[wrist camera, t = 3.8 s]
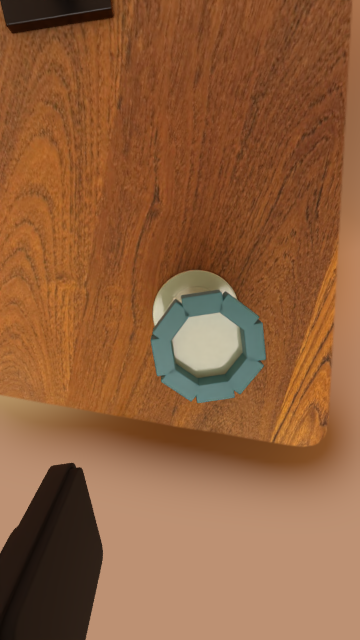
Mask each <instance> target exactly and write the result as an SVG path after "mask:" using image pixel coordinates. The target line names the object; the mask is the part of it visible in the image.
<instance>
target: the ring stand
mask: <svg viewBox="0 0 360 640" xmlns="http://www.w3.org/2000/svg"><path fill="white" fill-rule="evenodd" d="M212 290H220V291H221V292H222V294H223V293H224V292H225V291H226V292H227V293H229V294H230V295H231V296H233V297H234V298H235V299H237V296H236V294H235V292H234V290H233V289H232V287H231V286H230V285H229V284H228V283H227V282H226V281H225V280H224V279H223V278H221V277H220V276H218V275H216V274H214V273H212V272H209V271H206V270H197V269H194V270H187V271H183V272H180V273H178V274H176V275H174V276H172V277H171V278H170V279H168V280H167V281H166V282H165V283H164V284H163V285H162V287H161V288H160V290H159V291H158V293H157V295H156V298H155V301H154V305H153V322H154V326H155V325H156V324H157V323H158V321H159V320H160V319H161V317H162V316H163V315H164V313H165V312H166V310H167V309H168V308H169V306H170V305H171V304H172V302H173V301H174V300H175V299H177V300H178V301H179V302H181V303H182V301H181V295H186V294H193V293H199V292H205V291H212ZM237 300H238V299H237ZM172 346H173V352H174V358H175V363H176V364H178V365H179V366H181V367H182V368H183V369H185V370H186V371H188V372H189V373H191V374H192V375H194V376H195V377H197V378H202V377H208V376H215V375H222V374H226V372H227V371H228V370H229V369H230V367H231V366H232V365H233V364H234V363H235V361H236V360H237V359H238V358H239V356H240V355H241V354H242V353H243V351H242V342H241V333H240V327H239V326H237V325H236V324H235V323H233V322H232V321H230V320H229V319H228V318H226V317H225V316H224V315H222V314H221V313H220V312H219V313H213V314H206V315H200V316H193V317H189V318H188V319H187V320H186V322H185V323H184V324H183V326H182V327H181V328H180V330H179V331H178V332H177V334H176V335H175V336H174V338H173V339H172Z"/></svg>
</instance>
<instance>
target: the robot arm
mask: <svg viewBox="0 0 360 640" xmlns="http://www.w3.org/2000/svg"><path fill="white" fill-rule="evenodd" d="M102 559H103V550H102V543H101V539H100V535H99V531H98V527H97V524H96V520H95V516H94V512H93V508H92V504H91V500H90V497H89V492H88V489H87V485H86V481H85V477H84V473H83V470H82V468H80V467H79V468H76V466H75V464H74V463H67V464H61V465H54V466H51V467H50V469H49V470H48V472H47V474H46V476H45V477H44V479H43V481H42V483H41V485H40V487H39V488H38V490H37V492H36V494H35V496H34V498H33V500H32V501H31V503H30V505H29V507H28V509H27V511H26V513H25V515H24V516H23V518H22V520H21V522H20V524H19V525H18V527H17V528H15V529H14V530H13V532H12V533H11V535H10V536H9V538H8V540H7V542H6V544H5V546H4V547H3V549H2V551H1V553H0V640H85V639H86V634H87V630H88V625H89V621H90V616H91V611H92V606H93V602H94V597H95V593H96V588H97V584H98V579H99V574H100V569H101V565H102Z"/></svg>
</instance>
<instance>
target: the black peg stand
mask: <svg viewBox="0 0 360 640" xmlns="http://www.w3.org/2000/svg"><path fill="white" fill-rule="evenodd" d="M0 1H1V5H2V10H3V14H4V18H5V22H6V26H7V27H8V28H9V30H10V31H11V32H12V33H18V32H24V31H30V30H36V29H42V28H49V27H55V26H61V25H67V24H73V23H80V22H86V21H92V20H98V19H104V18H111V17H113V16H114V14H113V8H112V2H111V0H0Z"/></svg>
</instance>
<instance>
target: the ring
mask: <svg viewBox="0 0 360 640" xmlns="http://www.w3.org/2000/svg"><path fill="white" fill-rule="evenodd" d="M181 301H182V303H181V302H179V301H178V300H177V299H175V300H174V301H173V302H172V304H171V305H170V306H169V308H168V309H167V310H166V312H165V313H164V315H163V316H162V317H161V319H160V320H159V321H158V323H157V324H156V325H155V327H154V328H153V333H152V334H153V335H152V337H151V345H152V351H153V357H154V362H155V368H156V373H157V376H161V382H162V383H164V384H165V385H167V386H168V387H170V388H171V389H173V390H174V391H176V392H177V393H179V394H180V395H182V396H183V397H185V398H186V399H188V400H189V401H192V400H193V399H194V398H195V397H196V399H197V403H202V402H209V401H216V400H222V399H229V398H234V397H235V395H234V391H236V392H237V393H239V394H241V393H242V392H243V391H244V389H245V388H246V387H247V386H248V385H249V383H250V382H251V381H252V380H253V379H254V377H255V376H256V375H257V374H258V373H259V371H260V370H261V369H262V368H263V367H264V365H263V364H262V362H261V361H260V360H265V359H266V353H265V343H264V332H263V323H262V322H261V321H260V320H258V318H259V316H258V315H257V314H255V313H254V312H253V311H251V310H250V309H249V308H247V307H246V306H245V305H243V304H242V303H241V302H239V301H238V300H237V299H235V298H234V297H233V296H231V295H230V294H229V293H227V292H226V291H225V292H224V293H223V294H222V292H221V291H220V290H212V291H205V292H199V293H193V294H186V295H181ZM219 312H220V313H221V314H222V315H224V316H225V317H226V318H228V319H229V320H230V321H232V322H233V323H235V324H236V325H237V326H239V327H240V333H241V342H242V351H243V353H242V354H241V355H240V356H239V358H238V359H237V360H236V361H235V363H234V364H233V365H232V366H231V367H230V369H229V370H228V371H227V372H226V374H222V375H215V376H208V377H202V378H197V377H195V376H194V375H192V374H191V373H189V372H188V371H186V370H185V369H183V368H182V367H181V366H179V365H178V364H176V363H175V358H174V352H173V346H172V339H173V338H174V336H175V335H176V334H177V332H178V331H179V330H180V328H181V327H182V326H183V324H184V323H185V322H186V320H187V319H188V318H189V317H193V316H200V315H206V314H213V313H219Z"/></svg>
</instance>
